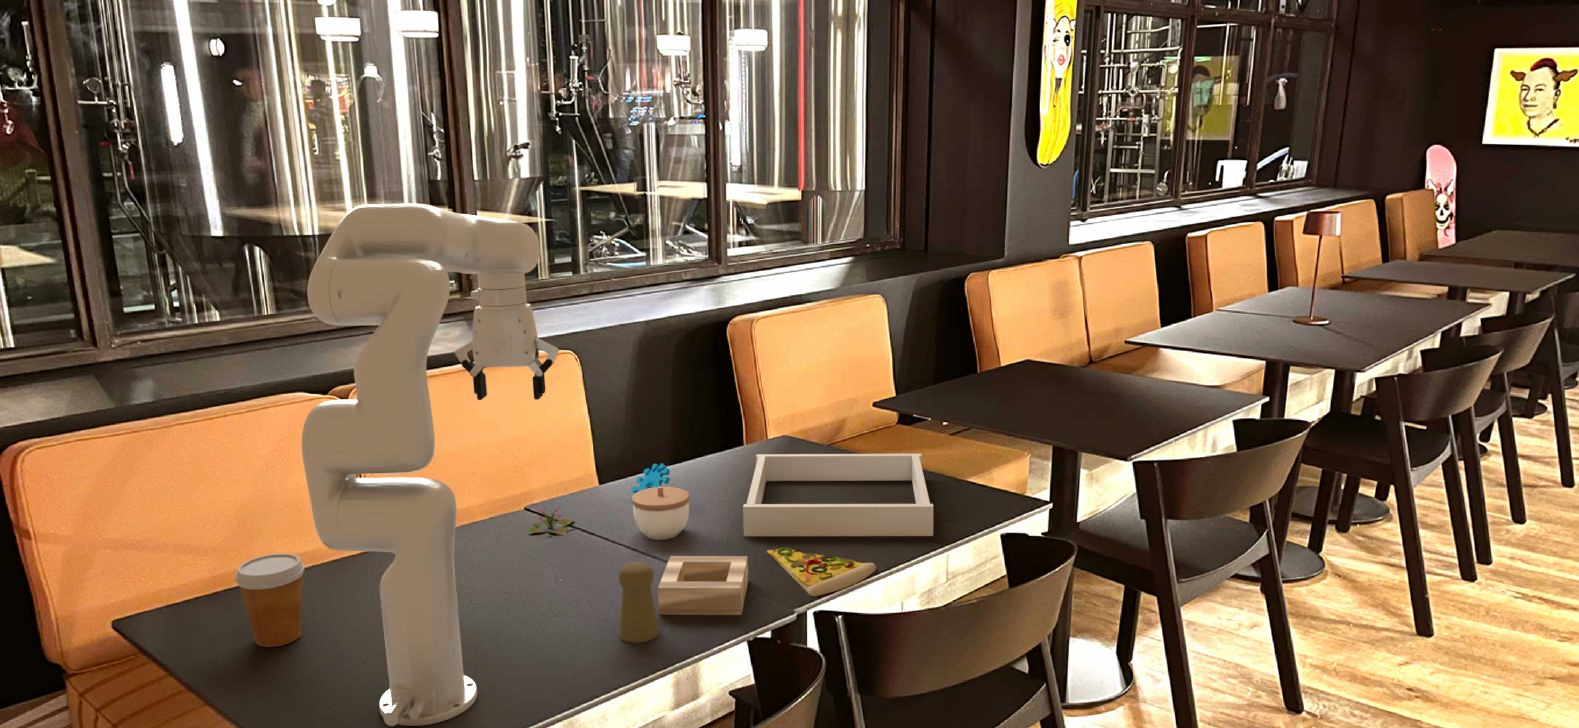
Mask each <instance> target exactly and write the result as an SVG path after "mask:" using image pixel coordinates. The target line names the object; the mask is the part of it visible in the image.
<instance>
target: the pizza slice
mask: <svg viewBox="0 0 1579 728" xmlns="http://www.w3.org/2000/svg"><path fill="white" fill-rule="evenodd" d="M767 554H768V555H770V556H771V557H772V558H773V559H774V560H775V561H776V562H777V563H778V564H779V565H780V566H781V567H782V568H783V569H784V571H786V572H787V573H788V575H790V577H792V578H793V580H794V581H796V582H797V583H798V585H799V586H801V587H802V589H803V590H804V591H806V593H807V594H808V595H809V596H810V597H819V596H822V595H825V594H829V593H832V592H837V591H841V590H843V589H845V588H848V587H851V586H853V585H855V584H857V583H859V582H861V581H864V580H865V579H866V578H868V577H869V576H870V575H872V574H873V573H874V572H876V570H877V565H876V564H875V563H873V562H864V563H863V562H859V561H858V562H857V561H855V560H853V559H851V558H849V559H848V558H845V557H841V558H839V557H837V556H835V555H829V554H828V555H824V554H817V553H805V551H803V550H802V549H796V550H795V549H791V548H790V547H780V548H774V549H768V550H767Z"/></svg>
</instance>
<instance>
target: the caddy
mask: <svg viewBox="0 0 1579 728" xmlns="http://www.w3.org/2000/svg"><path fill="white" fill-rule="evenodd" d="M748 557H749V556H748V555H670V557H669V559H668V561H667V564H666V567H665V569H664V572H663V574H662V577H661V580H660V581H659V584H658V587H657V595H658V598H657V599H658V600H657V601H658V615H659V616H665V615H666V616H670V615H671V616H674V615H677V616H687V615H688V616H742V614H743V610H744V606H745V605H744V604H745V599H746V594H747V589H748V583H749V562H748V561H749V558H748Z"/></svg>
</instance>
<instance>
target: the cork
mask: <svg viewBox="0 0 1579 728" xmlns="http://www.w3.org/2000/svg"><path fill="white" fill-rule="evenodd" d="M653 581H654V571H653V568H652V567H651V565H650V564H648V563H645V562H640V561H639V562H638V561H637V562H636V561H635V562H630V563H627V564H624V565H623V566H622V567H621V568H620V570H619V572H618V583H619V586H621V588H622V594H621V595H622V597H621V604H620V605H621V607H620V618H619V632H618V635H619V638H620V639H621V640H622V641H625V642H627V643H633V644H634V643H635V644H636V643H637V644H639V643H645V642H646V643H647V642H648V641H652V640H653V639H655V638H657V637H658V636H659V634H660V631H659V629H660V628H659V625H658V619H657V614H656V609H655V604H654V599H653V598H654V597H653V593H652V587H651V585H652V584H653Z"/></svg>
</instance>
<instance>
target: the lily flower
mask: <svg viewBox="0 0 1579 728" xmlns="http://www.w3.org/2000/svg"><path fill="white" fill-rule="evenodd" d="M560 507H561V506H559V507H557V509H556V510H554V511H553V509H551V512H550V513H551V515H549V512H548V511H547V509H546V507H545V506H544V507H543V508H544V510H545V511H546V512H544V511H542V510H541V509H537V511H538V512H541V513H542V514H543V515H544V516H545V518H544V517H543V516H541V515H540V516H539V520H541V522H542V523H541V522H537V521H534V522H533V523H534V525H535V526H536V527H531V528H528V529H526V532H525V534H526V535H527V534H528V535H531V534H533V533H534V534H535V533H544V531H541V530H540V527H541V526H543V525H544V524H545V525H546V527H548V529H552V528H554V527H555V525H556V524H559V525H562V526H561V527H560V528H559V530H556V531H550V533H551V535H548V536H547V538H549V537H551V536H553V534H556V535H560V536H563V535H567V534H568V533H567V532H569V531H570V529H568V527H566V526H568V525H570V524H572V522H573V519H570V518H569V519H567V518H563V519H560V518H562V514H556V516H555V513H556V512H558V510H559V509H560ZM551 508H553V505H552V507H551ZM559 519H560V520H559ZM573 527H577V525H576V524H573ZM572 530H575V529H572ZM532 532H533V533H532ZM552 533H553V534H552ZM536 537H537V538H538V539H540V535H538V534H536Z"/></svg>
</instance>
